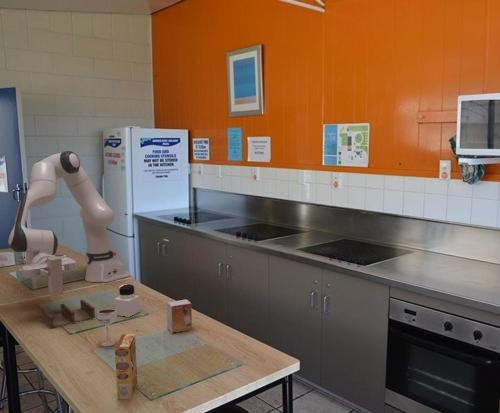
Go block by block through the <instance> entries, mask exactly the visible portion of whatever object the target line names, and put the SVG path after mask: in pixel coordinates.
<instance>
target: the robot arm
mask: <svg viewBox="0 0 500 413" xmlns="http://www.w3.org/2000/svg"><path fill="white" fill-rule="evenodd" d="M58 179H63V182H64V183H65V185H66V187H67V189H68V191H69V192H70V194H71V196H72V198H73V199H74V201H75V202H76V203H77V204H78V205H79V206H80V210H79V215H80V218H81V220H82V225H83V226H82V227H83V230H84V233H85V238H86V241H85V242H86V254H85V260H86V274H85V277H84V280H85V281H87V282H88V283H89V282H90V283H92V282H93V283H109V282H113V281H116V280H120V279H125V278H128V277H131V272H129V271H127V270H126V268H125V265H124V263H123V262H121V261H120V260H119V259H117V258H115V256H117V254H118V253H117V252H116V251H112V250H110V236H109V234H108V231H107V228H106V227H108V226H110V225H111V224H112V223H113V222H114V220H115V213H114V210H112V208H110V206H109V205H108V203H106V201H105V200H104V198H103V196H101V195H100V193H99V192H98V191H97V189H96V188H95V186H94V184H93V182H92V181H91V178H90V177H89V175H88V174H87V172H86V170H85V169H84V167H83V166H82V165H81V162H80V158H79V157H78V155H77V154H76V153H75V152H74V151H71V150H64V151H62V152H58V153H54V154H51V155H50V156H47V157H45V158H43V159H40V160H38V161H36V162H35V163H33V165H32V168H31V171H30V179H29V188H28V189H27V191H26V192H24V193H22V195H21V196H20V198H19V201H18V205H17V208H16V213H15V216H14V220H13V224H12V229H11V231H10V234H9V237H8V240H7V241H8V247H9V248H10V249H11V250H12V251H13V252H15V253H26V255H25V258H24V259H25V260H24V261H25V264H26V265H23V266H21V268H19V269H18V272H19V273H21V274H22V277H23V278H24V279H30V278H31V279H32V278H38V277H41V278H48V276H50V271H49V270H47V258H48V257H55V256H58V257H60V258H61V260H62V274H65V273H68V272H75V271H77V269H78V268H77V261H76V260H75V259H73V258H71V257H67V255H65V254H56V252H57V250H58V244H59V241H58V237H57V235H56V234H55V232H54V231H53V230H47V229H36V228H28V227H26V222H27V219H28V218H27V217H28V213H29V210H31V209H32V208H36V207H39V206H40V207H41V206H45V205H47V204H49V203H51V202H53V201H54V199H56V196H57V191H58ZM55 254H56V255H55Z"/></svg>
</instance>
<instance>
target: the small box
mask: <svg viewBox="0 0 500 413" xmlns="http://www.w3.org/2000/svg"><path fill="white" fill-rule="evenodd" d="M192 310H193V309H192V303H191V302H190V301H189V300H188V299H181V300H174V301H173V300H172V301H167V302H166V315H167V317H166V322H167V326H166V327H167V330H168V329H169V330H170V331H169V330H168V331H169V332H170V333H171V334H174V332H176V333H180V331H182V332H188V331H192V327H193V326H192V324H193V321H192V319H193V318H192V316H193V314H192V312H193V311H192ZM187 330H188V331H187Z"/></svg>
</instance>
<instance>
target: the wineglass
mask: <svg viewBox="0 0 500 413" xmlns="http://www.w3.org/2000/svg"><path fill="white" fill-rule="evenodd" d="M96 313H97V314H96V320H97V322H98V323H99V324H101V325H103V326H104V327H106V328H105V329H106V339H107V340H105V341H104V340H103V341H101V343H100V345H101V346H102V347H110V346H113V345H115V344H116V341H115V340H112V339H111V340H109V326H110V325H111V324H113V323H114V322H115V321H117V317H118V315H117V313H116V308H115V306H114V307H113V306H105V307H104V306H103V307H101V308H99V309H97V310H96Z"/></svg>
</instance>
